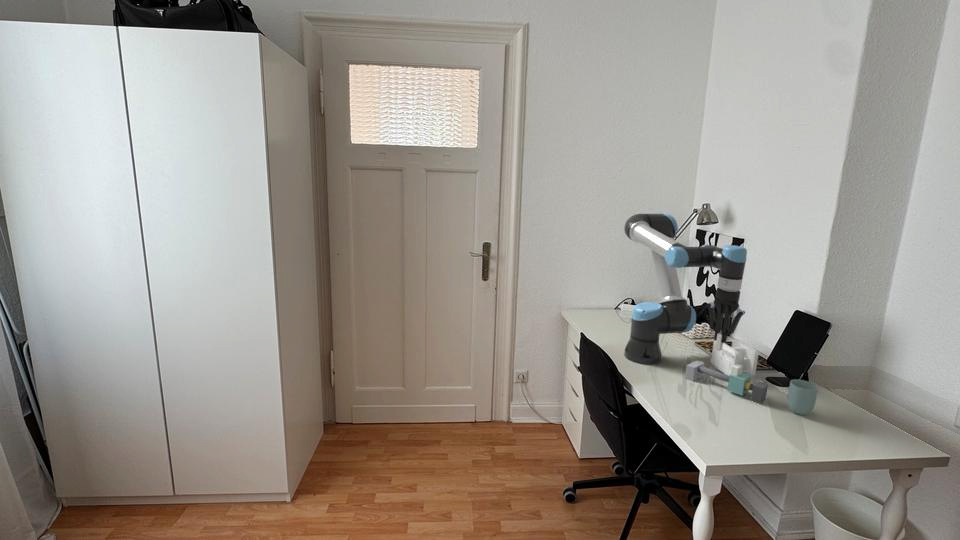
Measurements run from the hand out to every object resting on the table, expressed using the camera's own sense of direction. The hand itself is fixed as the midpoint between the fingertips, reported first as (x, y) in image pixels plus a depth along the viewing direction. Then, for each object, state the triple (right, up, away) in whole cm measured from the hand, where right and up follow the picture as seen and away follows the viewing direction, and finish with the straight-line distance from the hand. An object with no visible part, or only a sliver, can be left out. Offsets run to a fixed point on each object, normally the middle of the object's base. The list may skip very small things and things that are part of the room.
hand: (718, 349), depth 170 cm
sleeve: (+5, -15, -4) cm, 16 cm away
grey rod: (+2, -12, 0) cm, 12 cm away
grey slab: (-5, -12, +8) cm, 16 cm away
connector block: (+9, -16, -9) cm, 21 cm away
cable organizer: (+12, -12, +14) cm, 22 cm away
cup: (+19, -18, -16) cm, 31 cm away
